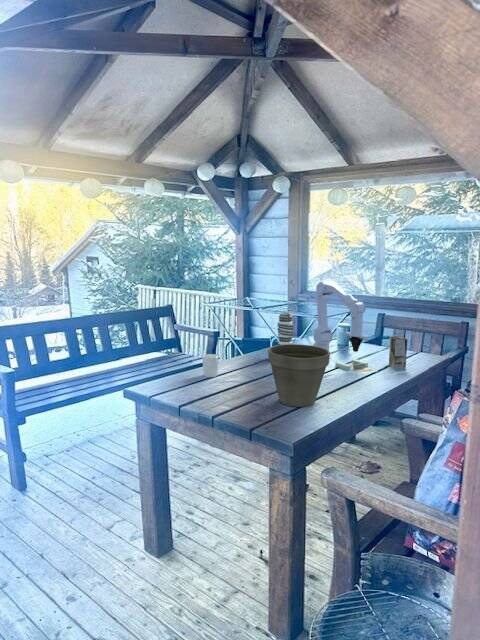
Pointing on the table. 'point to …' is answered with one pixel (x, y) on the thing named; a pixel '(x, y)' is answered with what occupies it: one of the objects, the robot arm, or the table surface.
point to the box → (350, 366)
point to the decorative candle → (285, 329)
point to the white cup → (210, 365)
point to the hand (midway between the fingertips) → (355, 351)
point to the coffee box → (398, 352)
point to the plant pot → (298, 372)
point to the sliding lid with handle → (362, 368)
